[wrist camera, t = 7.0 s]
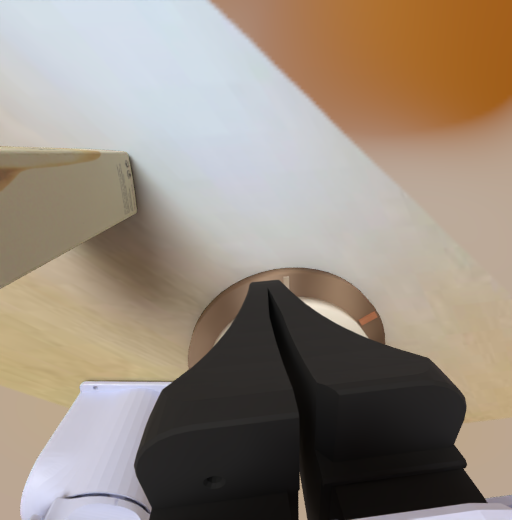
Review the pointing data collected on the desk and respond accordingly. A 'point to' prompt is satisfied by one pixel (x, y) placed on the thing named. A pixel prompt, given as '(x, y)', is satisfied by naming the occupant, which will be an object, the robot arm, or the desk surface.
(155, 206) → the desk surface
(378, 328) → the dial base
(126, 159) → the skincare box
